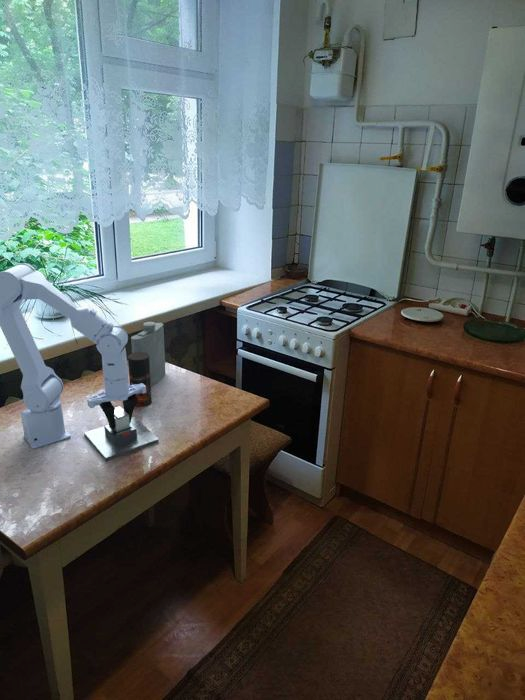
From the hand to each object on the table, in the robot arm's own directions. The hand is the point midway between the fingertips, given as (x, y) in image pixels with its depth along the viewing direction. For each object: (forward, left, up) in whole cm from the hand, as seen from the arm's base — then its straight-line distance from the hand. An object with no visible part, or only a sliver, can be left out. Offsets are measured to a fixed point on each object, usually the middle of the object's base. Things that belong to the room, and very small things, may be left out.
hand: (120, 424), depth 126 cm
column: (0, 0, -4) cm, 4 cm away
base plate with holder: (0, 0, -4) cm, 4 cm away
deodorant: (+13, +15, -5) cm, 20 cm away
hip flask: (+22, +26, -5) cm, 34 cm away
